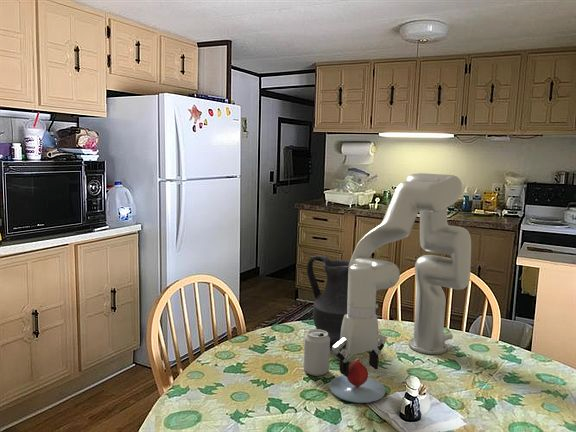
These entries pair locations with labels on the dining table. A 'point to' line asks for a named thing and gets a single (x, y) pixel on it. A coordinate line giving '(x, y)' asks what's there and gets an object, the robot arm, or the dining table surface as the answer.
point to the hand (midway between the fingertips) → (358, 370)
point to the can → (316, 352)
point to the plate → (357, 390)
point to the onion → (357, 373)
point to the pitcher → (330, 296)
